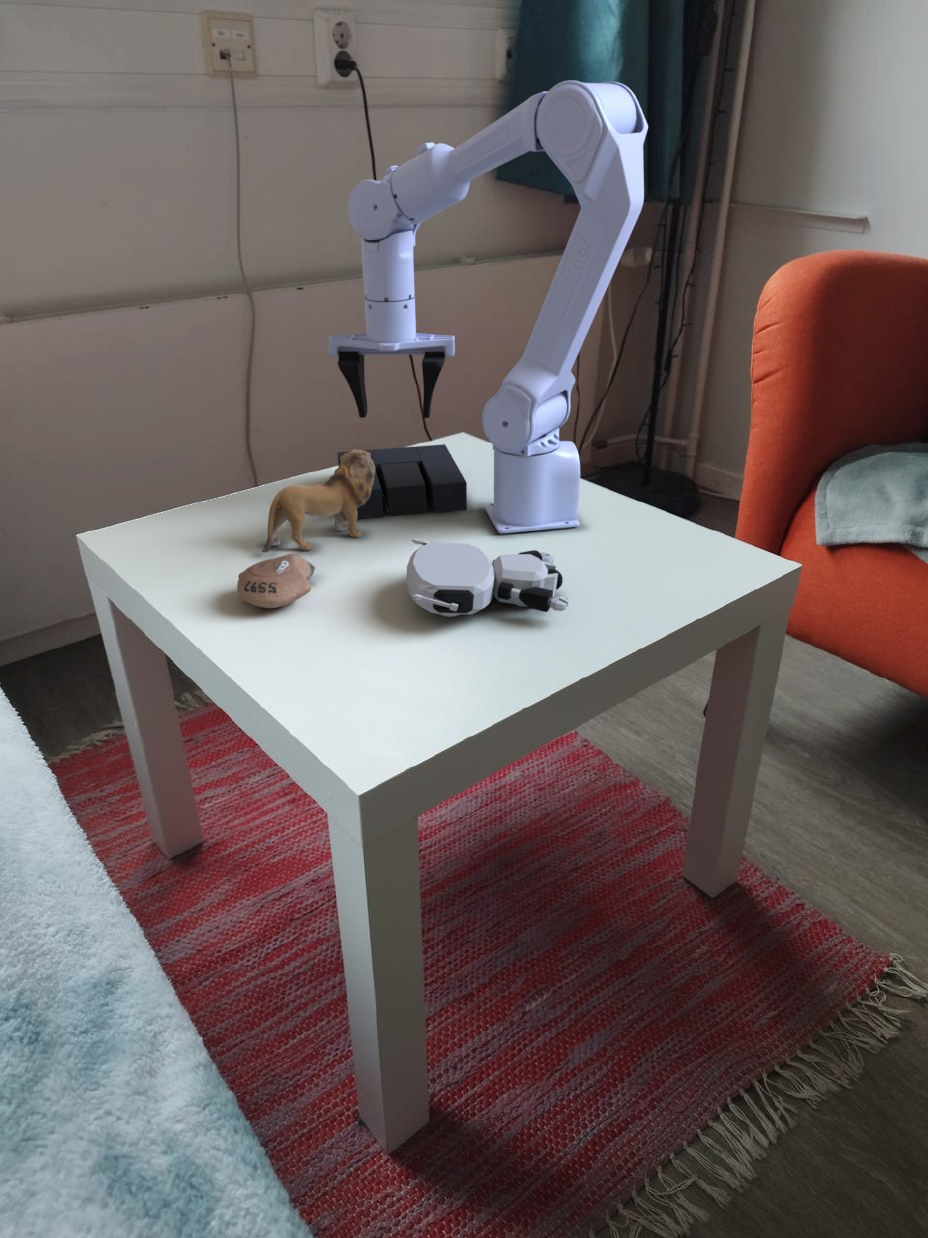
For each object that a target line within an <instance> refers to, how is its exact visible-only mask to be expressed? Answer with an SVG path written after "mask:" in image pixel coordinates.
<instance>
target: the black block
mask: <svg viewBox="0 0 928 1238" xmlns="http://www.w3.org/2000/svg"><path fill="white" fill-rule="evenodd" d="M380 468H381V485H382V498H383V501H384V503H385V507H386V510H387V515H388V516H400V515H410V514H414V515H415V514H425V513H427V496H426V485H425V483H424V480H423V478H422V475H421V472H420V470H419V467H418V465H417V462H409V463H394V464H381V465H380Z"/></svg>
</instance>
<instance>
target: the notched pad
mask: <svg viewBox="0 0 928 1238" xmlns="http://www.w3.org/2000/svg"><path fill="white" fill-rule="evenodd" d="M363 450H364V451H366V452H369V453H370V454H371V459H372V460H373V463H374V465H375V471H376V472H375V475H374V483H373V486H372V490H371V494H370V497H369V499H368V500H367V501H366V503H365V504H364V505H361V506H360V507H359V508H357V520H364V519H374V518H375V519H376V518H384V509H383V508H384V506H383V493H382V485H381V468H380V465H381V464H394V463H409V462H417V465H418V467H419V470H420V472H421V475H422V478H423V480H424V483H425V485H426V499H427V500H428V502H429V505H430V507H431V509H432V512H433V513H445V512H456V511H466V510H467V509H468V497H467V496H468V492H467V490H468V487H467V485H468V484H467V483H468V482H467V480H466V479H465V477H464V475H463V474H462V471H461V469H460V468H459V466H458V465H457V462H456V461H455V460H454V457H453V456H452V454H451V452H450V450H449V449H448V447H447V445H446V444H444V443H443V444H429V445H417V446H402V447H390V448H389V447H388V448H376V449H363ZM349 451H350V450H347V451H337V464H338V465H337V466H338V467H339V466H340V464H341V460H340V458H341V456H343V455H344V454H345V453H349Z"/></svg>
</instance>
